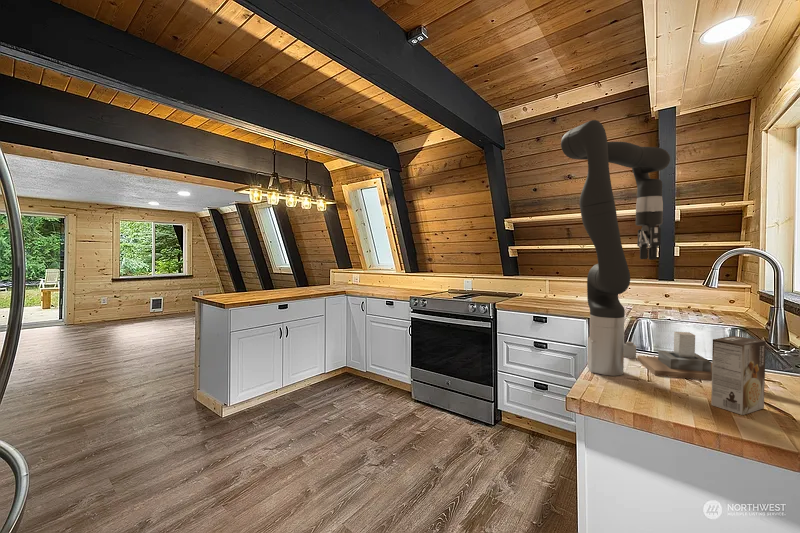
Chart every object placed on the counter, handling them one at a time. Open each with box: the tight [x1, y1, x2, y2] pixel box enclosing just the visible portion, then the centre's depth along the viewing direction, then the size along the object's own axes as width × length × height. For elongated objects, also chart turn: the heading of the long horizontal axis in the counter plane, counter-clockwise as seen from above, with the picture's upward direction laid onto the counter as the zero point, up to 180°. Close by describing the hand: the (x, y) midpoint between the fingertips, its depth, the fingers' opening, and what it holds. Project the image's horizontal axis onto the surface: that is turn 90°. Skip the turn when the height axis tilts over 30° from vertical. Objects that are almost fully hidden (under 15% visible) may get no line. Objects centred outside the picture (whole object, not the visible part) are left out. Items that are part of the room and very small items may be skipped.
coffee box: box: [710, 335, 767, 416], centre depth 86 cm, size 9×6×16 cm
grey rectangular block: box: [624, 341, 637, 359], centre depth 129 cm, size 7×2×8 cm, turn 55°
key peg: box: [673, 331, 696, 359], centre depth 113 cm, size 4×4×10 cm
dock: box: [636, 349, 712, 381], centre depth 114 cm, size 20×16×4 cm
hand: (647, 259), depth 124 cm, fingers open, 8 cm apart
